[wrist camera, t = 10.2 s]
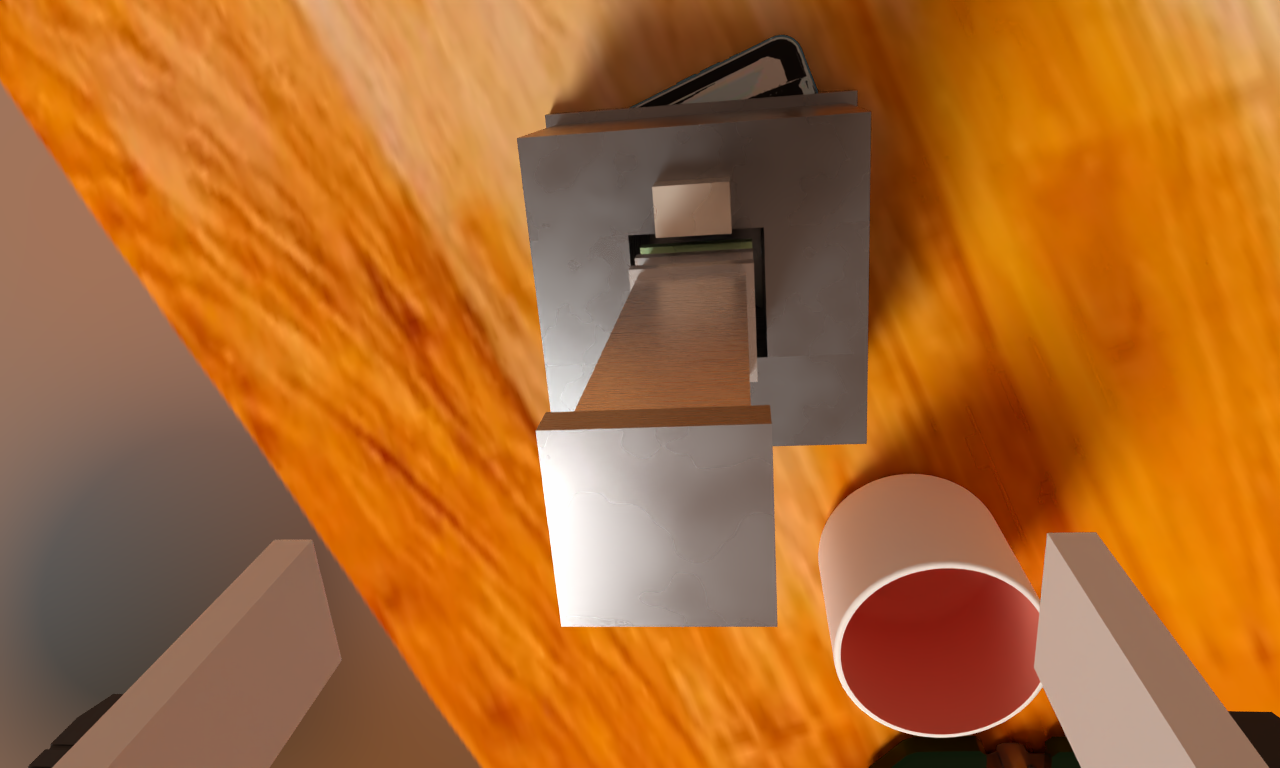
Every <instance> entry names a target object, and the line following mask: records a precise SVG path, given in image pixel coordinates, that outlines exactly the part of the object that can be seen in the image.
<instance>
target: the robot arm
mask: <svg viewBox="0 0 1280 768" xmlns="http://www.w3.org/2000/svg"><path fill="white" fill-rule="evenodd" d="M341 660H342V659H341V656H340V651H339V647H338V643H337V638H336V634H335V630H334V626H333V622H332V618H331V614H330V610H329V606H328V602H327V598H326V594H325V589H324V585H323V581H322V577H321V573H320V569H319V565H318V561H317V557H316V553H315V549H314V545H313V541H312V540H274V541H273V542H272V543H271V544H270V545H269V546H268V547H267V548H266V549H265V550H264V551H263V552H262V553H261V554H260V555H259V556H258V557H257V558H256V559H255V560H254V561H253V562H252V564H250V565H249V566H248V568H247V569H246V570H245V571H244V572H243V573H242V574H241V575H240V576H239V577H238V578H237V579H236V580H235V581H234V582H233V583H232V584H231V585H230V586H229V587H228V588H227V589H226V590H225V591H224V592H223V593H222V594H221V595H220V596H219V597H218V598H217V599H216V600H215V601H214V602H213V604H211V605H210V606H209V607H208V608H207V609H206V611H205V612H204V613H203V614H202V615H201V616H200V617H199V618H198V619H197V620H196V621H195V622H194V623H193V624H192V625H191V626H190V627H189V628H188V629H187V630H186V631H185V632H184V633H183V634H182V635H181V636H180V637H179V638H178V639H177V640H176V641H175V642H174V643H173V644H172V645H171V646H170V648H168V649H167V650H166V651H165V653H164V654H163V655H162V656H161V657H160V658H159V659H158V660H157V661H156V662H155V663H154V664H153V665H152V666H151V667H150V668H149V669H148V670H147V671H146V672H145V673H144V674H143V675H142V676H141V677H140V678H139V679H138V680H137V681H136V682H135V683H134V684H133V685H132V686H131V687H130V688H129V689H128V690H127V691H126V692H125V693H124V694H113V695H111V696H110V697H108V698H107V699H105V700H104V701H102V702H100V703H99V704H98V705H96V706H94V707H93V708H91V709H90V710H88V711H87V712H85V713H84V714H82V715H81V716H79V717H78V718H77V719H76V720H75V721H74V722H73V723H72V724H71V725H70V726H69V727H68V728H67V729H65V731H63V733H62V734H60V735H59V737H57V739H55V740H54V741H53V742H52V743H51V748H50V749H49V750H48V749H46V750H44V751H43V752H42V753H41V754H40V755H39V756H38V757H37V758H36V759H35V760H34V761H33V762H32V763H31V764H30V765H29V768H269V767H270V766H271V764H272V763H273V762H274V760H275V759H276V757H277V756H278V754H279V752H280V751H281V750H282V748H283V747H284V745H285V744H286V742H287V741H288V739H289V738H290V736H291V735H292V733H293V732H294V730H295V728H296V727H297V726H298V724H299V723H300V721H301V720H302V718H303V717H304V715H305V714H306V712H307V711H308V709H309V708H310V706H311V705H312V703H313V702H314V700H315V699H316V697H317V696H318V694H319V693H320V691H321V690H322V688H323V687H324V685H325V684H326V682H327V681H328V679H329V678H330V676H331V675H332V673H333V672H334V671H335V669H336V668H337V666H338V665H339V663H340V662H341ZM1034 669H1035V671H1036V673H1037V675H1038V677H1039V680H1040V682H1041V684H1042V686H1043V688H1044V690H1045V692H1046V694H1047V696H1048V699H1049V701H1050V703H1051V705H1052V707H1053V709H1054V711H1055V713H1056V716H1057V718H1058V720H1059V722H1060V724H1061V726H1062V728H1063V730H1064V733H1065V735H1066V737H1067V739H1068V741H1069V743H1070V745H1071V747H1072V749H1073V752H1074V754H1075V756H1076V758H1077V760H1078V762H1079V764H1080V766H1081V768H1280V718H1279V717H1278V716H1276V715H1275V714H1273V713H1272V712H1235V711H1227V710H1226V708H1225V707H1224V706H1223V704H1222V703H1221V702H1220V700H1219V699H1218V698H1217V696H1216V695H1215V693H1214V692H1213V691H1212V689H1211V688H1210V687H1209V685H1208V684H1207V683H1206V681H1205V680H1204V679H1203V677H1202V676H1201V674H1200V673H1199V672H1198V670H1197V669H1196V668H1195V666H1194V665H1193V664H1192V662H1191V661H1190V660H1189V658H1188V657H1187V655H1186V654H1185V653H1184V651H1183V650H1182V649H1181V647H1180V646H1179V645H1178V643H1177V642H1176V641H1175V639H1174V638H1173V636H1172V635H1171V634H1170V632H1169V631H1168V630H1167V628H1166V627H1165V626H1164V624H1163V623H1162V622H1161V620H1160V619H1159V617H1158V616H1157V615H1156V613H1155V612H1154V611H1153V609H1152V608H1151V607H1150V605H1149V604H1148V603H1147V601H1146V600H1145V598H1144V597H1143V596H1142V594H1141V593H1140V592H1139V590H1138V589H1137V588H1136V586H1135V585H1134V584H1133V582H1132V581H1131V579H1130V578H1129V577H1128V575H1127V574H1126V573H1125V571H1124V570H1123V569H1122V567H1121V566H1120V564H1119V563H1118V562H1117V560H1116V559H1115V558H1114V556H1113V555H1112V554H1111V552H1110V551H1109V550H1108V548H1107V547H1106V545H1105V544H1104V543H1103V541H1102V540H1101V539H1100V537H1099V536H1098V535H1097V533H1096V532H1093V533H1047V541H1046V551H1045V561H1044V571H1043V581H1042V591H1041V601H1040V611H1039V621H1038V631H1037V641H1036V651H1035V661H1034Z"/></svg>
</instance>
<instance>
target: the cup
mask: <svg viewBox="0 0 1280 768" xmlns="http://www.w3.org/2000/svg"><path fill="white" fill-rule="evenodd" d="M818 559H819V569H820V575H821V581H822V588H823V594H824V600H825V607H826V613H827V619H828V625H829V632H830V638H831V644H832V650H833V656H834V663H835V668H836V671H837V675H838V677H839V680H840V682H841V684H842V686H843V688H844V689H845V691H846V693H847V694H848V696H849V697H850V698H851V699H852V701H853V702H854V703H855V704H856V705H857V706H858V707H859V708H860V709H861V710H862V711H864V712H865V713H866V714H867V715H869V716H870V717H872V718H873V719H875V720H876V721H878V722H880V723H882V724H883V725H886V726H888V727H890V728H892V729H895V730H898V731H901V732H904V733H908V734H912V735H917V736H924V737H935V738H945V737H958V736H964V735H970V734H974V733H978V732H981V731H984V730H987V729H989V728H992V727H994V726H996V725H998V724H1001V723H1003V722H1005V721H1006V720H1008V719H1010V718H1011V717H1013V716H1014V715H1016V714H1017V713H1018V712H1020V711H1021V710H1022V709H1023V708H1025V707H1026V706H1027V705H1028V704H1029V703H1030V702H1031V701H1032V700H1033V699H1034V698H1035V696H1036V695H1037V694H1038V692H1039V691H1040V690H1041V688H1042V687H1043V686H1042V684H1041V682H1040V680H1039V677H1038V675H1037V673H1036V671H1035V669H1034V661H1035V651H1036V641H1037V631H1038V621H1039V611H1040V600H1039V598H1038V596H1037V594H1036V592H1035V591H1034V589H1033V587H1032V585H1031V583H1030V582H1029V580H1028V578H1027V576H1026V574H1025V573H1024V571H1023V569H1022V567H1021V566H1020V564H1019V562H1018V560H1017V558H1016V557H1015V555H1014V553H1013V551H1012V550H1011V548H1010V546H1009V544H1008V542H1007V541H1006V539H1005V537H1004V535H1003V534H1002V532H1001V530H1000V528H999V526H998V525H997V523H996V521H995V519H994V518H993V516H992V514H991V513H990V511H989V510H988V509H987V507H986V506H985V505H984V504H983V503H982V502H981V501H980V500H979V499H978V498H977V497H976V496H975V495H973V494H972V493H971V492H969V491H968V490H967V489H965V488H963V487H962V486H960V485H958V484H956V483H954V482H951V481H949V480H946V479H943V478H940V477H936V476H931V475H924V474H900V475H893V476H888V477H884V478H881V479H878V480H875V481H872V482H870V483H868V484H866V485H864V486H862V487H861V488H859V489H857V490H855V491H854V492H853V493H851V494H850V495H849V496H847V497H846V498H845V499H844V500H843V501H842V502H841V503H840V504H839V505H838V506H837V507H836V508H835V510H834V511H833V513H832V514H831V515H830V517H829V519H828V521H827V523H826V524H825V527H824V529H823V532H822V535H821V539H820V543H819V552H818Z"/></svg>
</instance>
